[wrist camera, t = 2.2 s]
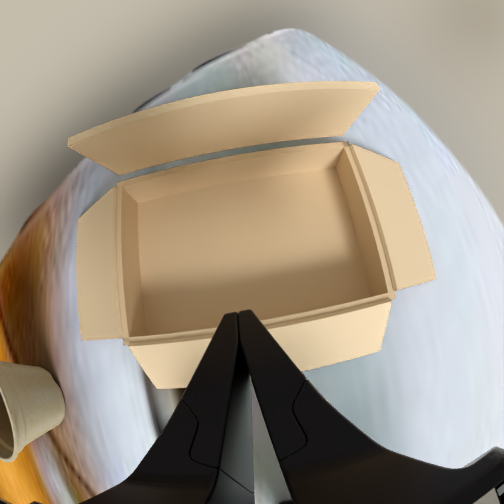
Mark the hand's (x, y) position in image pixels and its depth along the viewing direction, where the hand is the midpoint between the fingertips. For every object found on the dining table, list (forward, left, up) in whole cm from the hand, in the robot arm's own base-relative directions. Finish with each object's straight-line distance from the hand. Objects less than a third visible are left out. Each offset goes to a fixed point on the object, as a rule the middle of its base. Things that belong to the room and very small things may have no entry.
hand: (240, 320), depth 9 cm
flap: (+12, 0, -8) cm, 14 cm away
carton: (+4, 0, -11) cm, 12 cm away
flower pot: (-6, +22, -12) cm, 25 cm away
